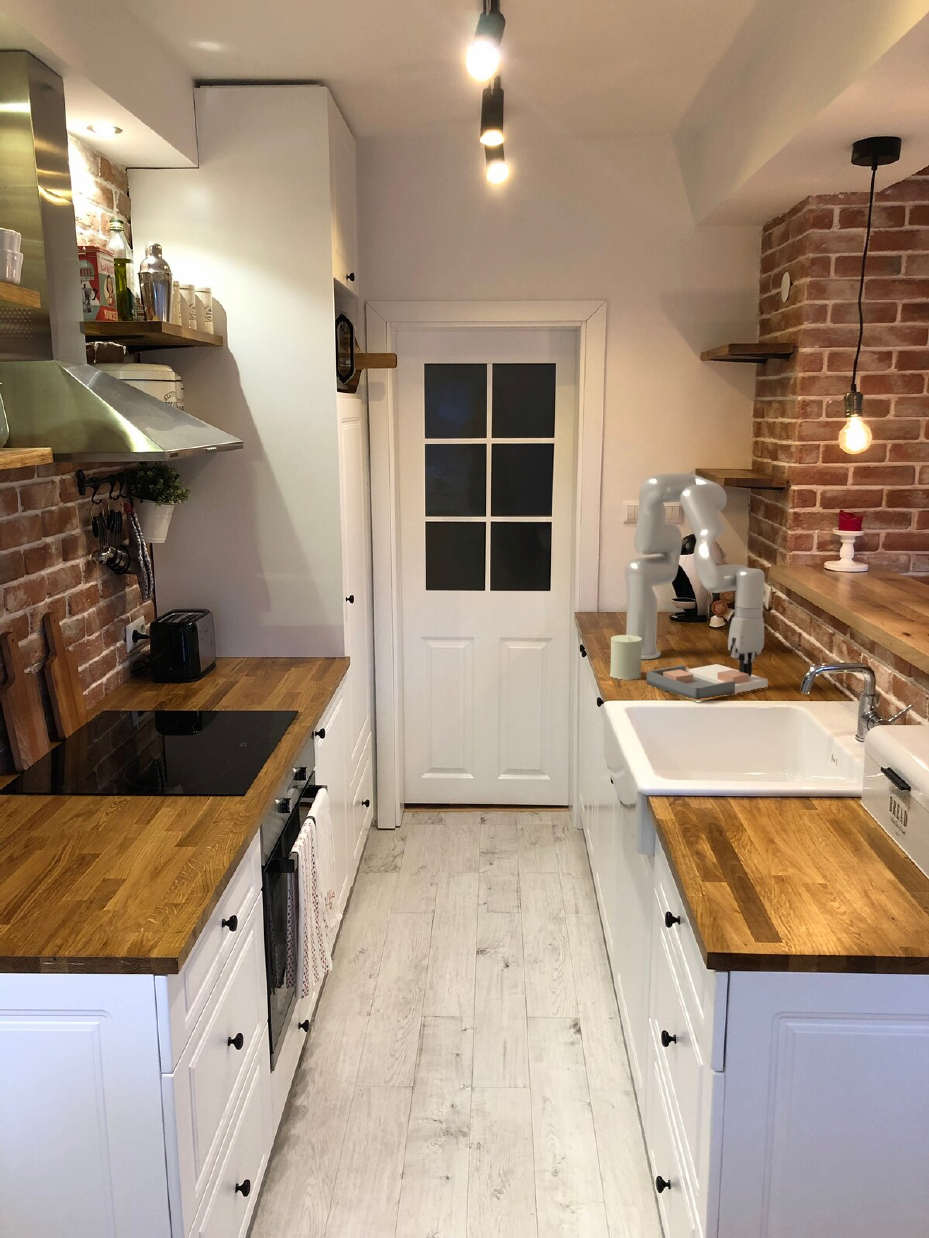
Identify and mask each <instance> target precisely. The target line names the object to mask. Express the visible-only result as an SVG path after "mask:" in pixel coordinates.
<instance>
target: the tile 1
mask: <svg viewBox="0 0 929 1238" xmlns="http://www.w3.org/2000/svg"><path fill="white" fill-rule="evenodd" d="M663 676H665V677H668V678H671V679H674V680H677V681H680V682H683V683H684V682H690V681H693V674H691V673H688V672H686V671H683V670H673V671H667V672H663Z"/></svg>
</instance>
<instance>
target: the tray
mask: <svg viewBox="0 0 929 1238" xmlns="http://www.w3.org/2000/svg"><path fill="white" fill-rule="evenodd" d="M686 668H687V666H686V664H681V665H680V664H679V665H675V666H669V667H664V668H663V667H662V668H659V669H653V670H647V671H646V683H645V684H648V685H651V686H653V687H652V688H654V687H656V688H655V689H657V688H660V689H662V690H664V691H663V692H665V691H669V692H672V693H675V694H677V695H682V696H684V697H688V698H694V699H701V698H709V697H715V696H720V695H732V694H735V681H728V682H723V683H717V684H715V683H712V682H709V681H706V680H703V679H700V678H697V677H694V676H693V681H690V682H684V683H683V682H680V681H677V680H674V679H671V678H668V677H665V676H663V672H667V671H673V670H683V671H686V670H687V669H686ZM648 685H647V686H648ZM651 686H650V687H651ZM662 690H661V691H662ZM735 695H736V694H735ZM732 696H733V695H732Z"/></svg>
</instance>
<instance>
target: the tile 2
mask: <svg viewBox="0 0 929 1238" xmlns="http://www.w3.org/2000/svg"><path fill="white" fill-rule="evenodd" d="M736 670H737V669H735V670H728V671H723V672H718V677H717V679H718V680H721V681H724V682H728V681H735V684H737V683H742V682H747V681H749V674H746V673H743V672H739V670H738V671H736Z"/></svg>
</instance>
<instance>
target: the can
mask: <svg viewBox="0 0 929 1238" xmlns="http://www.w3.org/2000/svg"><path fill="white" fill-rule="evenodd" d="M641 647H642V638H641V637H638V636H633V635H626V634H617V635H614V636H611V638H610V673H609V676H610V677H611V678H612V677H613V679H615V678H617V679H616V680H620V679H623V680H622V681H634V680H633V679H635V680H639V679H640V678H641V677H642V669H641V668H642V659H641ZM638 678H639V679H638Z"/></svg>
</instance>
